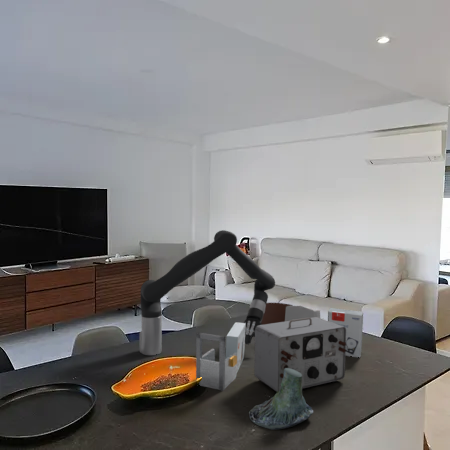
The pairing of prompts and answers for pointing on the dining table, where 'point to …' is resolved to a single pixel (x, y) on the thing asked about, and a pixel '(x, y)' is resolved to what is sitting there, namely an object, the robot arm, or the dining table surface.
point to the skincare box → (236, 342)
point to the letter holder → (274, 313)
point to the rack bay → (214, 364)
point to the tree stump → (283, 405)
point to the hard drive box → (349, 328)
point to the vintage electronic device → (300, 351)
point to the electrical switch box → (300, 312)
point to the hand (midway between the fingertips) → (246, 343)
